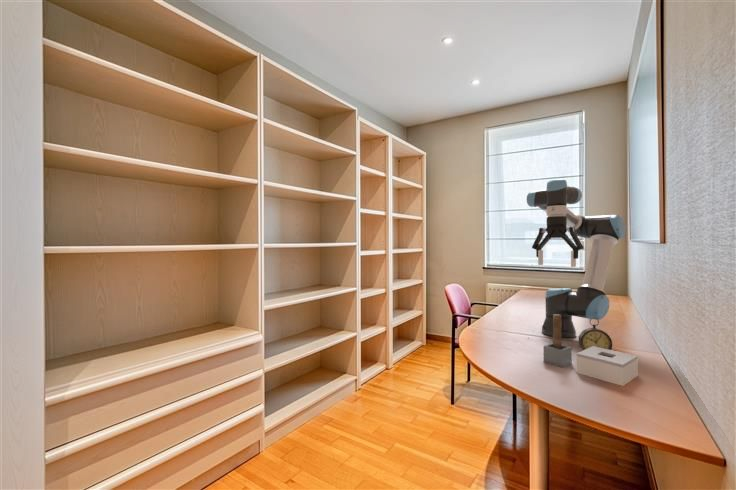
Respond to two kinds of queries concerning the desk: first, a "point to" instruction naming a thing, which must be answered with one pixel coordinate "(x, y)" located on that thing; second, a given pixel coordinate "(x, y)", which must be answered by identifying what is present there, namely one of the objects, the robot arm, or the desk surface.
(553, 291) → the robot arm
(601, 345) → the alarm clock
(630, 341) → the desk surface
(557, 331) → the brown wooden rod
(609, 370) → the white box
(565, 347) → the pen cup
